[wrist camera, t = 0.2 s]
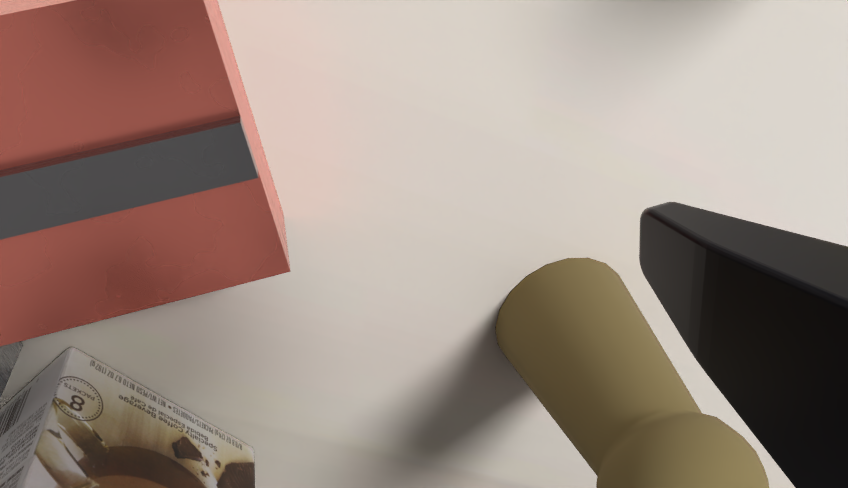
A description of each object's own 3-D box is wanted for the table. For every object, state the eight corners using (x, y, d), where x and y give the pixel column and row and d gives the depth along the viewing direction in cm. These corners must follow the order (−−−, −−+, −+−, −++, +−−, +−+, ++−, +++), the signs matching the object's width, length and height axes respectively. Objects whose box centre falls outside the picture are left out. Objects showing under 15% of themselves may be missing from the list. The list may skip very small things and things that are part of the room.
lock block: (282, 209, 23) (291, 280, 19) (18, 274, 22) (-27, 363, 18) (203, -48, 18) (194, -20, 15) (-138, 18, 17) (-239, 67, 14)
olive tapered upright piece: (476, 365, 29) (587, 607, 20) (524, 249, 26) (679, 466, 17) (592, 373, 31) (740, 596, 22) (647, 266, 28) (843, 469, 19)
